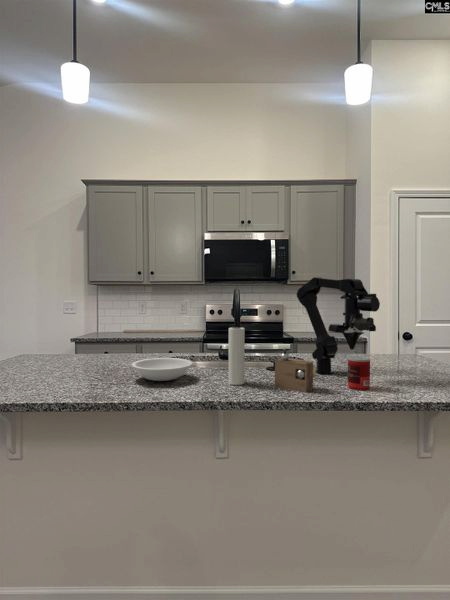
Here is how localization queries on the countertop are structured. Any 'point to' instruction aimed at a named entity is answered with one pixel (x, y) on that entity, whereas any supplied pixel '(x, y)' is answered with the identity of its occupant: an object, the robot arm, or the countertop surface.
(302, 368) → the mount
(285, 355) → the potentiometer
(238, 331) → the paper towel roll
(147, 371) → the soup bowl
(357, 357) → the canned food
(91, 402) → the countertop surface
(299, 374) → the knob
